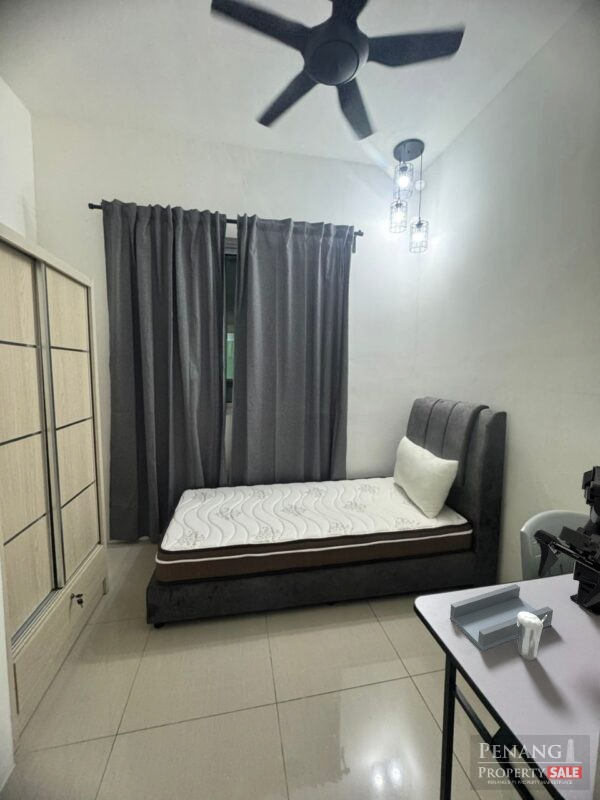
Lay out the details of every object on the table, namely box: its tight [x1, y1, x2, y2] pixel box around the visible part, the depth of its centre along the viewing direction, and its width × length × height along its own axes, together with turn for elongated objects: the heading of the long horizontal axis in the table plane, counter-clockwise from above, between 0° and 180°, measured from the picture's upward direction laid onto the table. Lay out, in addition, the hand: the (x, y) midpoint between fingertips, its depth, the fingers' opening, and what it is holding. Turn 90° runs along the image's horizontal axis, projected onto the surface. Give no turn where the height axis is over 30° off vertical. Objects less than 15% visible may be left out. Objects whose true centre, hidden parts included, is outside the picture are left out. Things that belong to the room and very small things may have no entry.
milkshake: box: [517, 612, 547, 661], centre depth 69 cm, size 5×5×10 cm
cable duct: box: [449, 583, 554, 652], centre depth 78 cm, size 22×9×4 cm, turn 109°
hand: (560, 590), depth 71 cm, fingers open, 9 cm apart
